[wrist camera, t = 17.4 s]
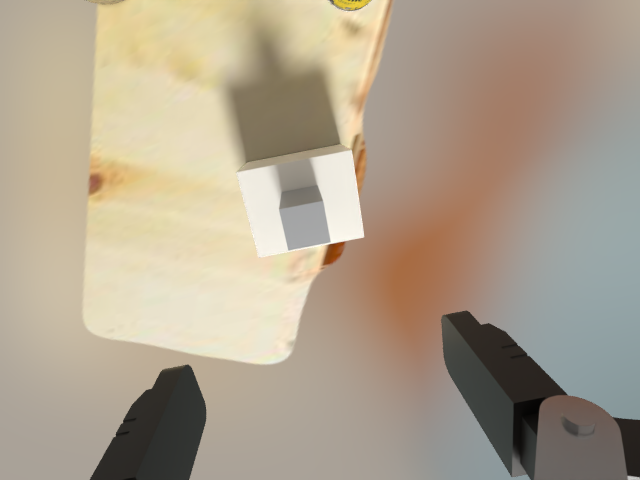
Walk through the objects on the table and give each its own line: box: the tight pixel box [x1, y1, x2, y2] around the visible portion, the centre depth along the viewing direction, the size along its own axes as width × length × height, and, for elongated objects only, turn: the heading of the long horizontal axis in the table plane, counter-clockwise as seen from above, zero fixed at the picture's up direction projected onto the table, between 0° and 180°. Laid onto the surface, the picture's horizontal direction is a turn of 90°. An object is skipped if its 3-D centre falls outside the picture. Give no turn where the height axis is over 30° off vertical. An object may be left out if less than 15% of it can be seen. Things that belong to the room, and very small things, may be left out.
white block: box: [236, 144, 364, 258], centre depth 31 cm, size 8×10×13 cm
